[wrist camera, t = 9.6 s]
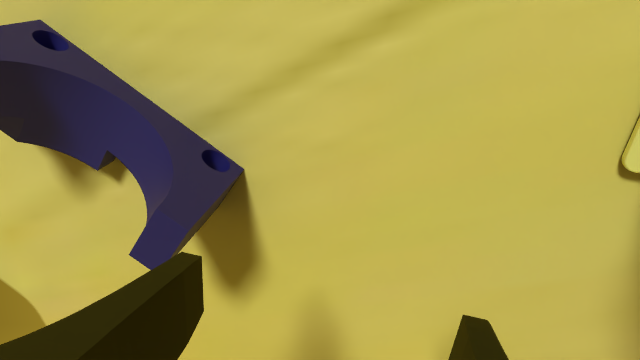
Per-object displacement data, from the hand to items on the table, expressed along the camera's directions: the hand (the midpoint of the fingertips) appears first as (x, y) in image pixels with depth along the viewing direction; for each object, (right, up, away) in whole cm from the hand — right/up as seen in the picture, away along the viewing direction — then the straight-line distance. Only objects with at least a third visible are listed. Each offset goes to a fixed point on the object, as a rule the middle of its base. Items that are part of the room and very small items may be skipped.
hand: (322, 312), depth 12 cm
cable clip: (-10, +6, +11) cm, 16 cm away
